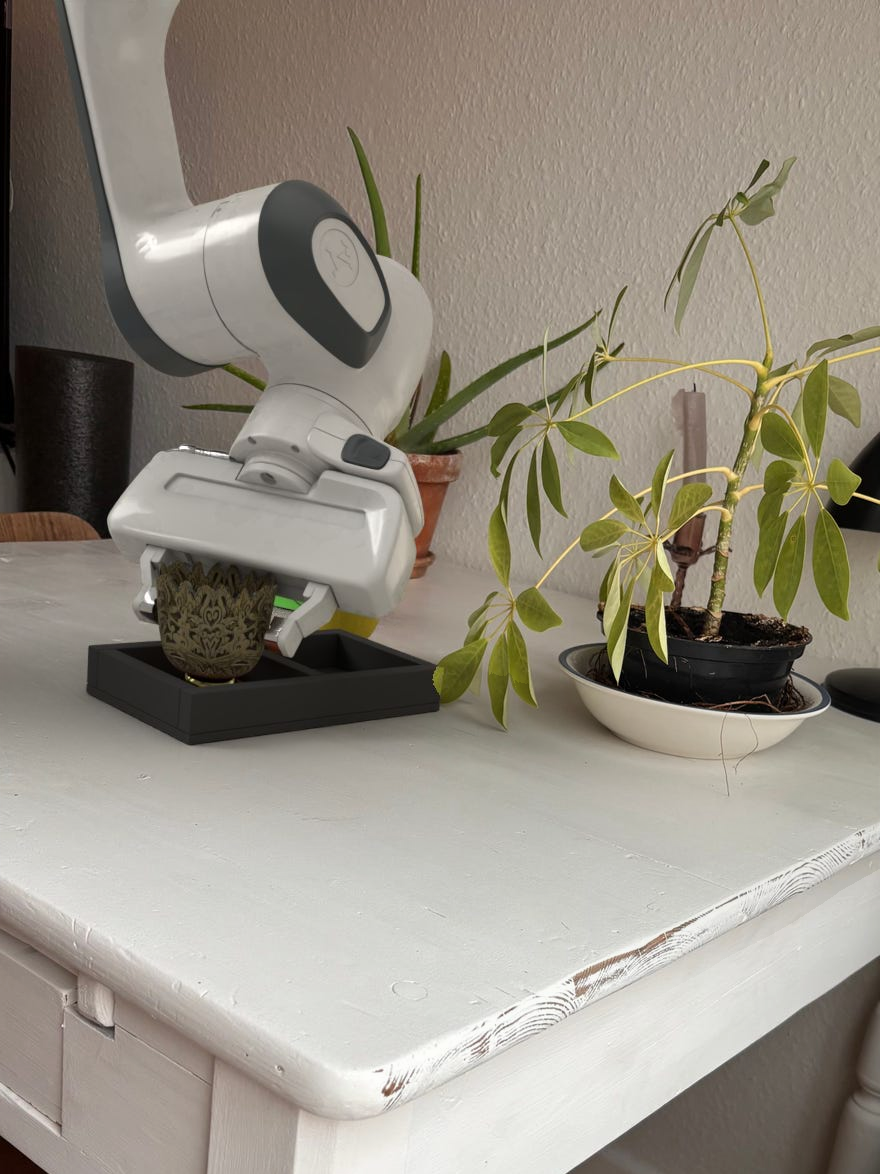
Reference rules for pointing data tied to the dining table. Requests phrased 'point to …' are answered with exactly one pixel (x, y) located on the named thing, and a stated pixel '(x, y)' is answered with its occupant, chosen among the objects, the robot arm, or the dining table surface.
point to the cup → (213, 620)
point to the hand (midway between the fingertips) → (210, 633)
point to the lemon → (351, 623)
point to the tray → (265, 688)
